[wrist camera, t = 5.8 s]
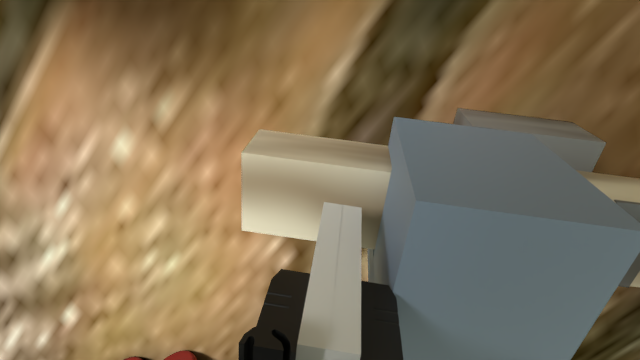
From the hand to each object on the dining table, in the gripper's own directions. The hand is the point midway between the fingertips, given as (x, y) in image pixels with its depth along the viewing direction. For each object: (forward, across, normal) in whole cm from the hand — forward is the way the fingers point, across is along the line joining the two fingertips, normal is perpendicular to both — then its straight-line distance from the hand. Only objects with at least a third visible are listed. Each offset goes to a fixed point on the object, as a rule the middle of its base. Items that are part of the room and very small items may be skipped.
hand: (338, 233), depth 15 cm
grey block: (+4, +5, 0) cm, 6 cm away
